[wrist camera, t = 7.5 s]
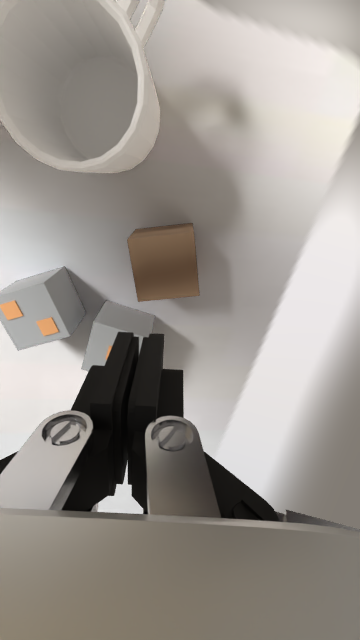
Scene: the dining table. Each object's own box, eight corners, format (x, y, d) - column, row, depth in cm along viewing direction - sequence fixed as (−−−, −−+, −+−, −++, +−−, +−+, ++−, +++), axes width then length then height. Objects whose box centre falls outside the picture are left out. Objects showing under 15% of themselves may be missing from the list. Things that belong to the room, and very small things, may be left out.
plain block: (136, 228, 28) (127, 239, 24) (192, 222, 28) (193, 232, 23) (144, 282, 30) (138, 301, 26) (196, 277, 30) (199, 295, 25)
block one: (106, 299, 31) (93, 322, 26) (155, 315, 32) (150, 339, 27) (95, 342, 33) (80, 369, 28) (141, 356, 34) (134, 385, 29)
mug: (217, 60, 23) (239, -12, 14) (119, 194, 27) (87, 203, 18) (129, -39, 21) (89, -200, 12) (36, 121, 25) (-47, 91, 16)
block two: (17, 280, 30) (-13, 299, 26) (64, 266, 30) (42, 283, 25) (41, 325, 32) (17, 351, 28) (86, 313, 32) (69, 337, 27)
